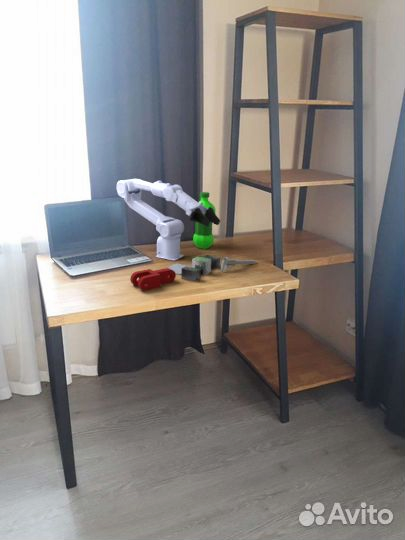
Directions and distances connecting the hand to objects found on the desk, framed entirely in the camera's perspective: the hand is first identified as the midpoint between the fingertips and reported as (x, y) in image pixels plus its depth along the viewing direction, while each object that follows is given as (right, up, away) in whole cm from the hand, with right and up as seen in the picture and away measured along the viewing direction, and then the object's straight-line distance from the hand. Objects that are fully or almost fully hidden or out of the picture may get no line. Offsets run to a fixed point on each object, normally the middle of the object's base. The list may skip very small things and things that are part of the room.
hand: (213, 223), depth 174 cm
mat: (-14, -18, +3) cm, 23 cm away
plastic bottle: (-4, -8, +34) cm, 35 cm away
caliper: (+11, -17, +8) cm, 22 cm away
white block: (-5, -19, +1) cm, 20 cm away
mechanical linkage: (-21, -23, -12) cm, 34 cm away
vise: (-5, -19, +1) cm, 20 cm away
